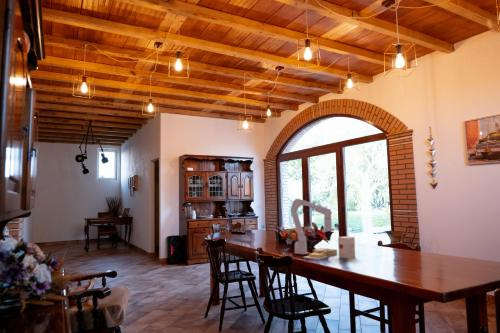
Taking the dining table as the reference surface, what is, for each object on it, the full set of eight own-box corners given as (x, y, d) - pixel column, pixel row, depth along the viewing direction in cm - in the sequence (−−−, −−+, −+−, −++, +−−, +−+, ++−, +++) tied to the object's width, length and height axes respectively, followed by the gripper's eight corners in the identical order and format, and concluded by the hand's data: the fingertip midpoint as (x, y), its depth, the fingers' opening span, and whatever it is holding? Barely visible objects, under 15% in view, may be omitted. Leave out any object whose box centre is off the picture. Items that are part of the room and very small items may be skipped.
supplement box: (338, 257, 265) (337, 237, 266) (345, 256, 271) (344, 236, 272) (349, 258, 258) (348, 238, 259) (355, 257, 264) (354, 236, 265)
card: (313, 252, 274) (313, 255, 274) (309, 253, 270) (309, 256, 270) (323, 254, 268) (323, 256, 268) (319, 255, 264) (319, 257, 264)
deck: (313, 255, 278) (313, 249, 279) (321, 253, 287) (321, 248, 287) (328, 256, 269) (328, 251, 269) (337, 254, 277) (336, 249, 277)
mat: (303, 257, 269) (302, 257, 269) (312, 255, 278) (312, 254, 278) (318, 259, 259) (318, 258, 259) (328, 256, 268) (328, 256, 268)
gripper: (327, 224, 280) (328, 241, 278) (336, 223, 290) (337, 240, 289) (319, 224, 284) (320, 241, 283) (329, 222, 295) (330, 239, 294)
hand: (328, 240), depth 286 cm, fingers closed
